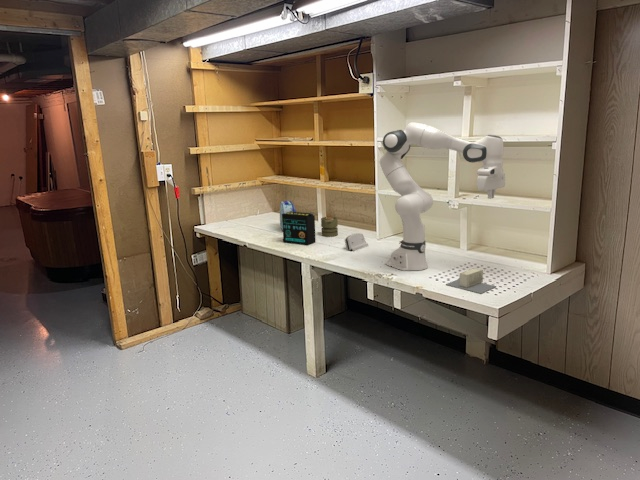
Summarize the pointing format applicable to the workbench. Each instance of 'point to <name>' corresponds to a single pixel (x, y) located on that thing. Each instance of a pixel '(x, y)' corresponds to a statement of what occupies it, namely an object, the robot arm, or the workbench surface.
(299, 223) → the battery
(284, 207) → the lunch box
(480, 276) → the skincare box
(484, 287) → the mat
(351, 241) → the hinge
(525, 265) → the workbench surface
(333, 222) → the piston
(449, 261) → the workbench surface
